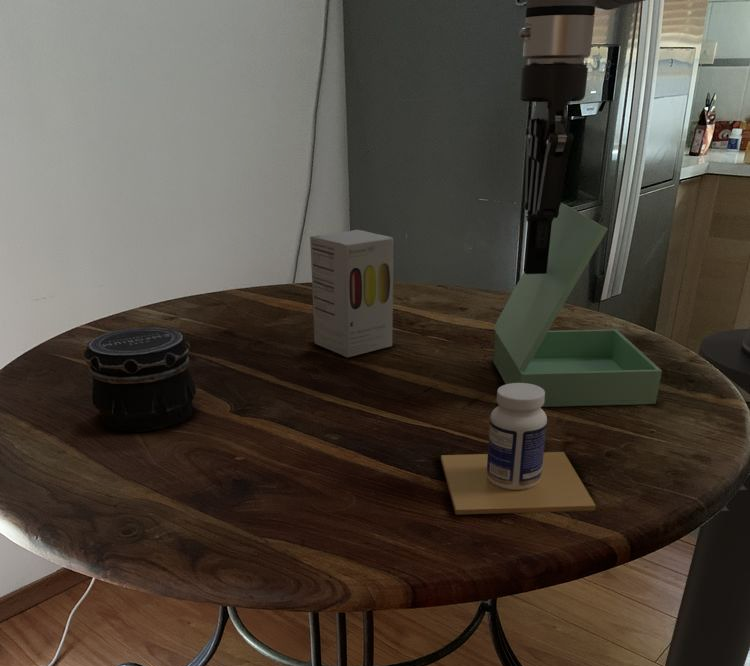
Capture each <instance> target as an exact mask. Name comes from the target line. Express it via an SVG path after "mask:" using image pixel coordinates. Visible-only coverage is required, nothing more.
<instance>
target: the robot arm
mask: <svg viewBox="0 0 750 666" xmlns="http://www.w3.org/2000/svg"><path fill="white" fill-rule="evenodd" d="M645 1H646V0H526V7H525V8H526V10H525V22H524V25H525V27H521V28H520V29H519V32H518V33H519V34H518V35H519V37H520V38H522V39H524V40H523V47H522V57H523V59H524V60H527V63H526V64H523V65H522V68H521V69H520V79H519V80H520V82H519V95H518V96H519V99H520V101H522V102H529V103H535V105H534V112H533V115H532V118H530V119H529V123H528V126H527V127H526V130H525V143H526V154H525V156H526V157H525V182H524V183H525V186H524V203H523V207H524V210H525V211H526V216H525V219H526V222H527V227H526V235H525V236H526V238H525V246H524V247H525V248H524V249H525V250H524V261H523V270H522V271H523V272H522V273H525V274H547V265H548V255H549V245H550V236H551V226H552V221H553V219H554V218H557V217H558V214H559V207H560V205H561V200H562V195H563V189H564V183H565V177H566V172H567V166H568V161H569V156H570V152H571V148H572V146H573V142H574V133H572V132H570V125H571V120H570V119H568V104H569V103H570V102H581V101H582V100H583V99H584V98H585V97H586V90H587V81H588V80H587V79H588V74H589V67H587V66H588V64H586V63H585V59H588V58H590V56H591V54H592V53H591V52H592V45H593V35H594V25H595V17H596V16H595V14H596V9H600V10H603V11H611V10H615V9H618V8H620V7H624V6H627V5H630V4H636V3H640V2H645ZM584 63H585V64H584ZM748 329H749V330H748V332H747V333H746V335H745V337H744V339H743V343H742V347H741V350H742V352H743V353H744V354H745V355H747V356H748V357H750V328H748Z"/></svg>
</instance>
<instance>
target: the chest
mask: <svg viewBox="0 0 750 666" xmlns="http://www.w3.org/2000/svg"><path fill="white" fill-rule="evenodd" d="M492 359H493V360H492V362H493V364H494V366H495V367H496V369H497V372H498V373H499V375H500V376H501V378H502V381H503V382H504V385H506V384H511V383H528V384H533V385H536V386H539V387H541V388H542V389H543V390H544V391H545V400H544V405H543V406H541V408H549V407H550V408H551V407H557V408H558V407H589V406H590V407H594V406H595V407H596V406H630V405H631V406H632V405H656V403H657V399H658V393H659V388H660V383H661V378H662V373H663V370H662V369H661V368H660V367H659V366H657V365H656V363H654V362H653V361H652V360H651V359H650V358H649V357H648V356H647V355H645V354H644V353H643V352H642V351H641V350H640V349H639V348H638V347H637V346H636V345H634V344H633V342H631V341H630V340H629V339H628V338H627V337H626V336H625V335H624V334H623V333H621V332H620V331H619V330H618V329H617V328H613V329H612V328H611V329H610V328H607V329H567V330H565V329H564V330H563V329H562V330H548V332H547V334H546V336H545V337H544V339H543V341H542V342H541V344H540V346H539V348H538V349H537V351H536V353H535V354H534V356H533V358H532V360H531V361H530V363H529V365H528V366H527V368H526V370H525V372H523V371H521V370H519V368H518V367H517V365H516V364H515V362H514V360H513V359H512V357H511V355H510V354H509V352H508V351H507V349H506V347H505V346H504V344H503V343H502V341H501V339H500V338H499V336H498V334H497V333H496V331H495V332H494V345H493V357H492Z"/></svg>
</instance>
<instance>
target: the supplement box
mask: <svg viewBox="0 0 750 666" xmlns="http://www.w3.org/2000/svg"><path fill="white" fill-rule="evenodd" d="M309 239H310V241H309V243H310V265H311V267H310V268H311V287H312V289H311V290H312V312H313V313H312V315H313V335H314V337H313V338H314V339H313V340H314V344H315V345H317V346H320V347H321V348H323V349H326V350H329V351H331V352H333V353H335V354H338V355H340V356H342V357H345V358H351V357H355V356H360V355H363V354H367V353H371V352H374V351H379V350H382V349H386V348H390V347H393V330H394V329H393V328H394V327H393V325H394V324H393V323H394V322H393V321H394V320H393V319H394V317H393V315H394V237H392V236H388V235H384V234H379V233H375V232H374V233H373V232H370V231H367V230H362V229H353V230H348V231H339V232H333V233H326V234H319V235H311V236H310V237H309Z"/></svg>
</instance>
